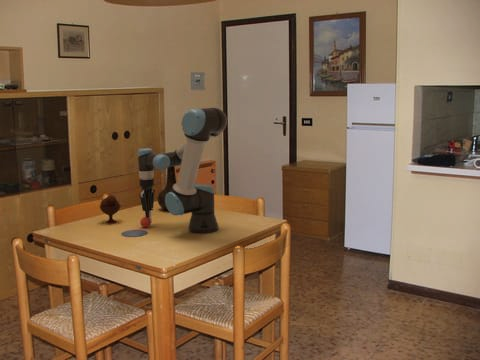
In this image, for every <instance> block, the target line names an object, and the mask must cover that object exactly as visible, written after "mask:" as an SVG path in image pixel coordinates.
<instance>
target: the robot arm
mask: <svg viewBox="0 0 480 360" xmlns="http://www.w3.org/2000/svg"><path fill="white" fill-rule="evenodd" d="M227 124H228V118H227V115H226V113H225V112H224V111H223V110H222V109H220V108H219V107H207V108H192V109H188V110H187V111H186V112H185V113H184V114H183V116H182V118H181V129H182V131H183V133H184V137H185V138H186V140H185V141H184V142H183V143H181V145H180V146H178V147H177V148H176V149H175V150H174V151H170V152H169V151H168V152H163V153H154V152H153V149H152V148H148V147H147V148H146V147H145V148H140V149H138V150H137V162H138V178H139V179H138V183H139V187H141V193H139V195H138V196H139V198H140V202H141V203H140V204H141V208H142V211H144V213H145V216H144V217H148V218H150V220H151V224H152V222H153V221H152V220H153V219H152V211H153V210H154V203H155V200H154V199H155V192H156V189H154V188H153V186H155V179H154V177H155V175H154V173H155V172H154V169H155V170H159V171H161V170H163V171H164V170H167V168H168V167H174V166H175V167H179V172H178V176H177V179H176V184H174V185H173V188H172V192H169V193H168V194H166V196H165V204H166V207H167V209H168V212H169V214H171V215H172V216H183V215H185V214H190V213H191V216H190V219H189V222H188V231H189V232H190V233H196V234H197V233H198V234H206V233H207V234H208V233H214V232H216V231H218V230H219V223H218V220H217V218H216V214H215V189H214V186H212V185H209V184H204V183H203V184H202V183H196V181H197V177H198V173H199V168H200V164H201V160H202V155H203V152H204V148H205V145H206V143H208V142H209V141H211V139H212V138H216V137H218V136H219V135H221V133H223V132H224V130H225V129H226V128H227Z"/></svg>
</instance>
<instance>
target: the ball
mask: <svg viewBox="0 0 480 360" xmlns="http://www.w3.org/2000/svg"><path fill="white" fill-rule="evenodd" d="M139 223H140V226H141V227H143V228H149V227H150V226H151V224H152V223H151V220H150V218H148V217H145V216H143V217H142V218H141V219H140V222H139Z"/></svg>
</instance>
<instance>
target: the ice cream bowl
mask: <svg viewBox="0 0 480 360" xmlns="http://www.w3.org/2000/svg"><path fill="white" fill-rule="evenodd" d="M121 206H122V205H121V204H120V201H118V200H117V198H116V197H115V195H111V194H110V195H108V196H107V197H105V198H103V199H102V200H101V202H100V205H99V209H100V211H101V212H102V213H103V214H105V215H107V216H108V220H106V221H105V223H106V224H115V223H117V221H116V219H113V215H115V214H116V213H118V212H119V211H120V209H121Z"/></svg>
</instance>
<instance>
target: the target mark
mask: <svg viewBox="0 0 480 360" xmlns="http://www.w3.org/2000/svg"><path fill="white" fill-rule="evenodd" d="M148 233H149V232H148V231H147V230H144V229H131V230H129V229H128V230H126V231H123V232H121V233H120V234H121V236H123V237H125V238H126V237H127V238H137V237H142V236H145V235H147V234H148Z"/></svg>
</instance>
